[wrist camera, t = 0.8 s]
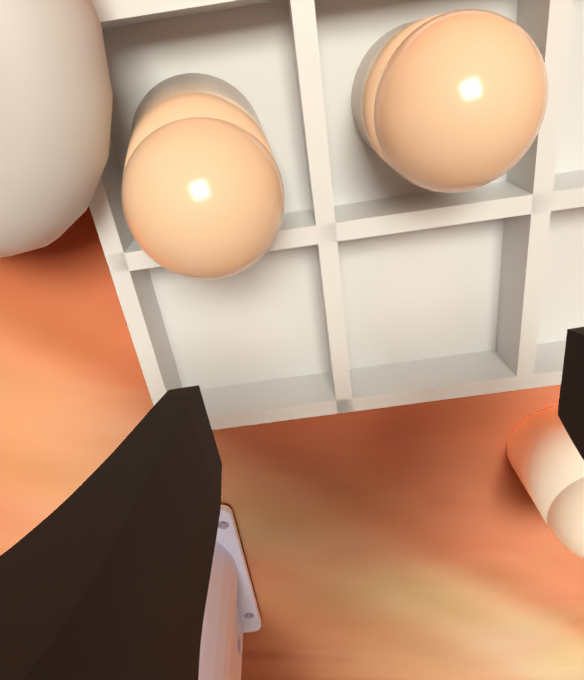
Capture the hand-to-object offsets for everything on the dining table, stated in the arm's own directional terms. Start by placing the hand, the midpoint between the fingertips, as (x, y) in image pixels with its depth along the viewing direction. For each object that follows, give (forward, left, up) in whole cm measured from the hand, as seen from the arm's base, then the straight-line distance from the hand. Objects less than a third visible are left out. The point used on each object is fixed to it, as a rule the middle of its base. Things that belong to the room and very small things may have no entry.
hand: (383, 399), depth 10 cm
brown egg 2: (+5, -3, -9) cm, 11 cm away
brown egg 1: (+4, +4, -9) cm, 10 cm away
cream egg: (-11, -9, -10) cm, 17 cm away
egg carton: (+1, -3, -10) cm, 10 cm away
